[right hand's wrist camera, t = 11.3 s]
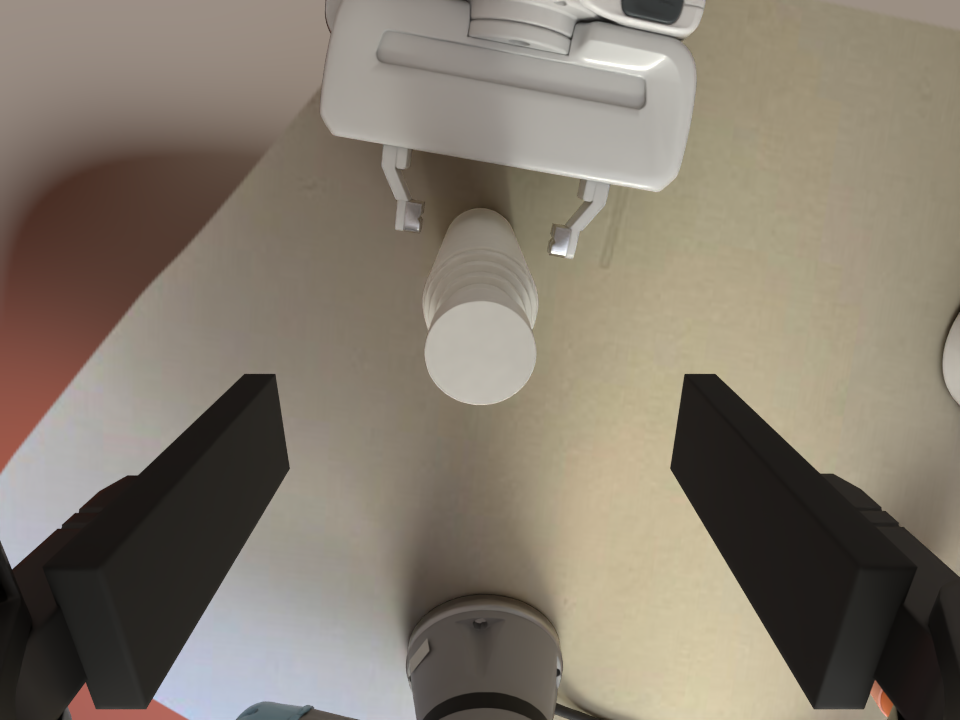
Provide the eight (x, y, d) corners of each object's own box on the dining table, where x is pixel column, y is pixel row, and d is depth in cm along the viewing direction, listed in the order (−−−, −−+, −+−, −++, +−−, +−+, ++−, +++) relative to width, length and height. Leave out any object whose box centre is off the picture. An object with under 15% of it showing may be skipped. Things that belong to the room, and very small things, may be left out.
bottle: (431, 255, 39) (377, 371, 19) (469, 193, 38) (455, 245, 17) (490, 292, 40) (501, 441, 20) (529, 233, 39) (586, 329, 18)
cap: (409, 352, 20) (403, 370, 18) (463, 267, 19) (462, 278, 17) (495, 402, 21) (496, 423, 19) (552, 323, 19) (559, 339, 18)
